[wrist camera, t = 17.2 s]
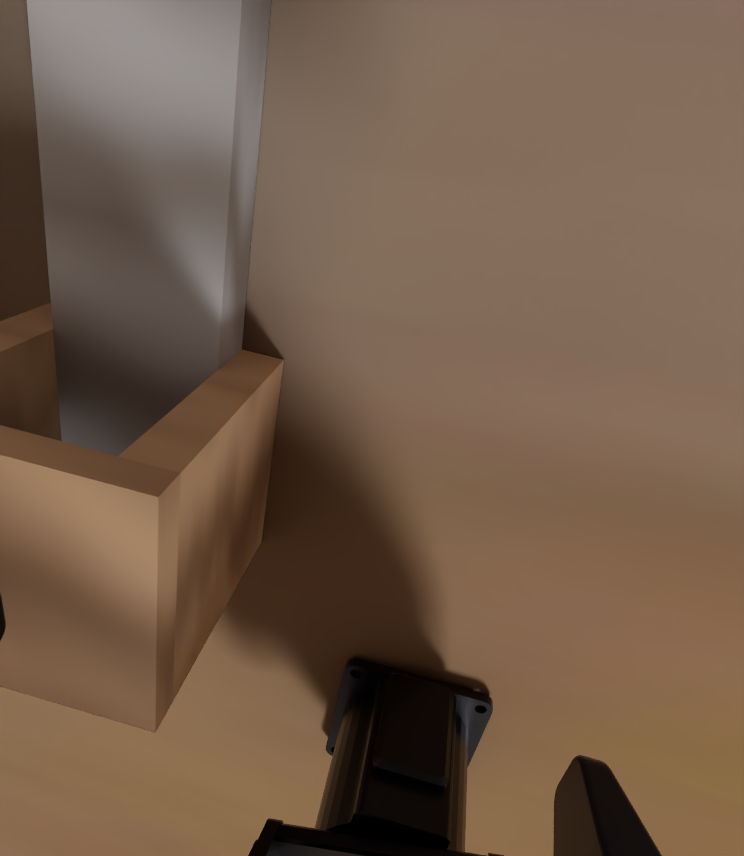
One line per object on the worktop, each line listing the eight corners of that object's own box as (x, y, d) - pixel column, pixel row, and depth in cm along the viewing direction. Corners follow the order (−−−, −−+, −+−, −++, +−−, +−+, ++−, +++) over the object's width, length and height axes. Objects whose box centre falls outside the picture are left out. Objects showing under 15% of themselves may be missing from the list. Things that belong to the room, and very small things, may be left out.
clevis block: (261, 541, 23) (155, 732, 16) (65, 488, 24) (-127, 648, 16) (379, -422, 12) (185, -1458, 4) (-12, -479, 12) (-816, -1481, 5)
